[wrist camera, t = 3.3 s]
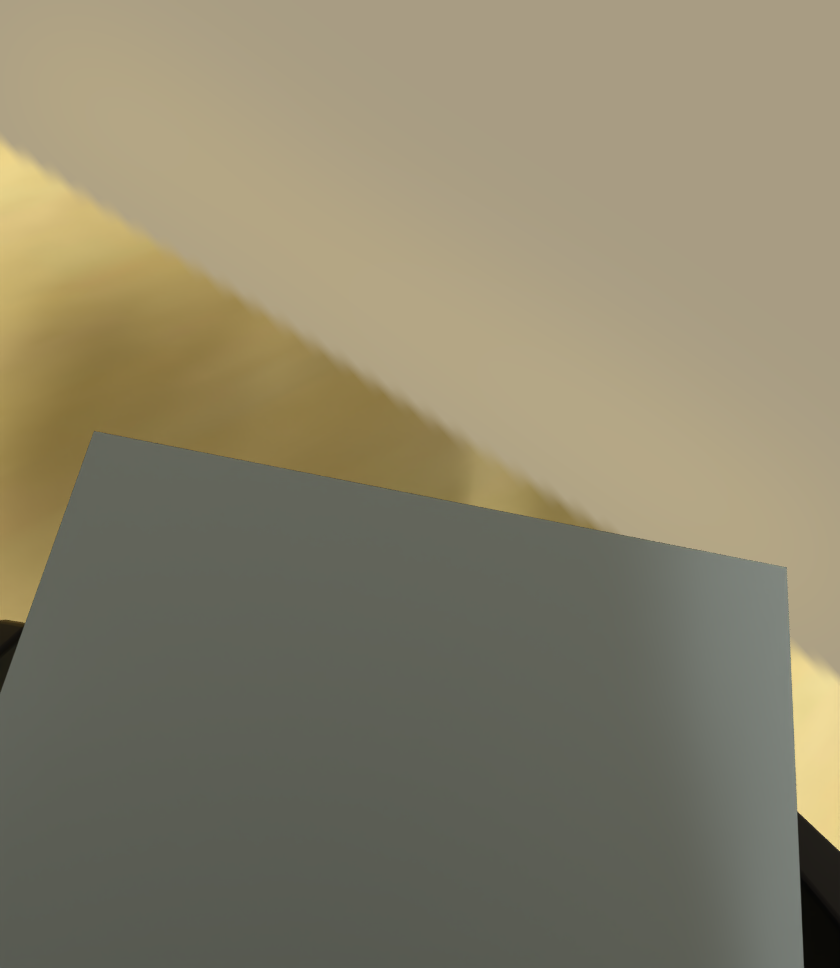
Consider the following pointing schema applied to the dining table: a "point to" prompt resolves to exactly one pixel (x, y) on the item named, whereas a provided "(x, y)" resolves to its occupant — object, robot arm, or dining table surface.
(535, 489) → the dining table surface
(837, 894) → the robot arm
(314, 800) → the slate block
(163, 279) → the dining table surface
